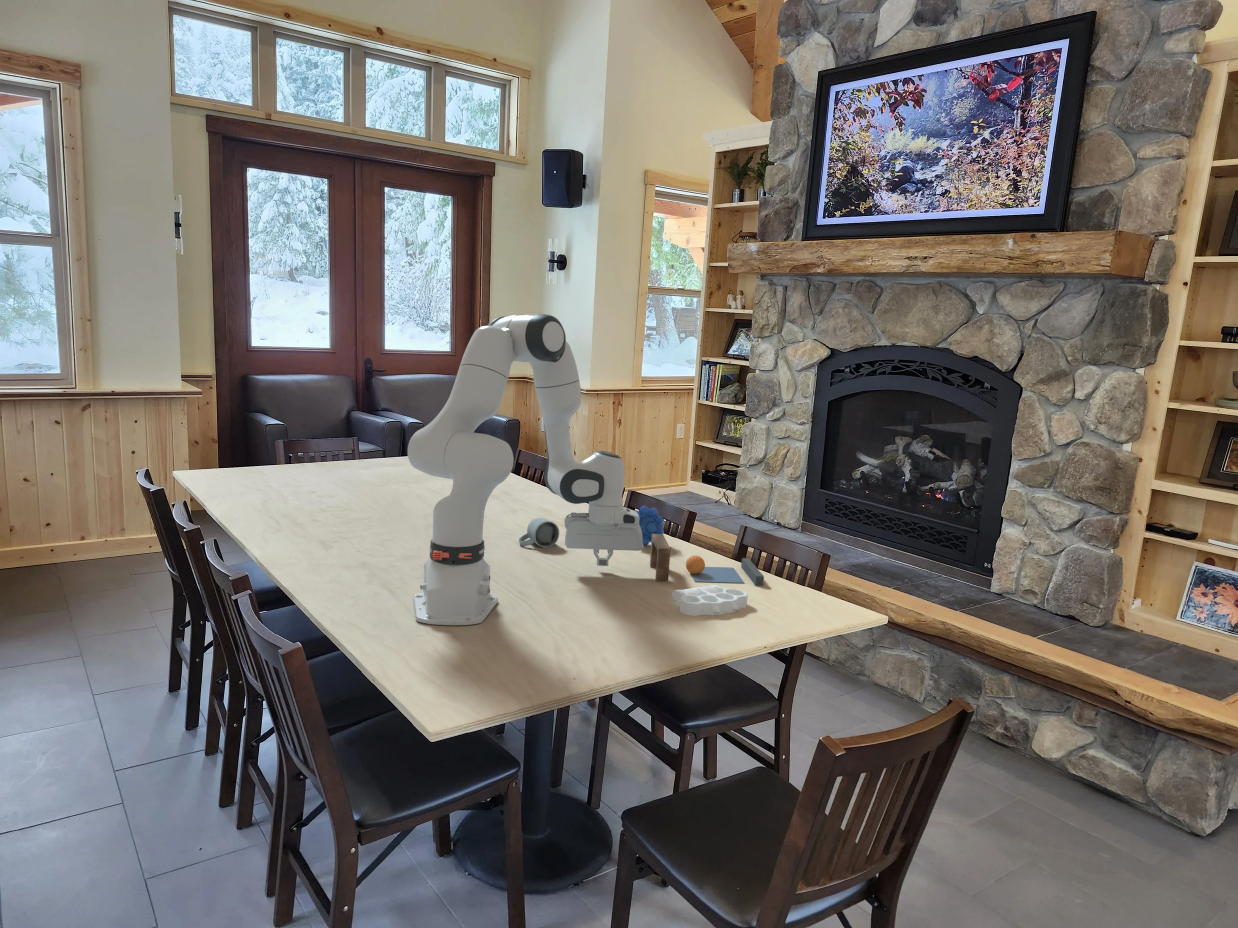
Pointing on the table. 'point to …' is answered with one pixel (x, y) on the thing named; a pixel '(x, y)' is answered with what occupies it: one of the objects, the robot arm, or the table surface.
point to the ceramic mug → (540, 533)
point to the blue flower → (649, 523)
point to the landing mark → (718, 575)
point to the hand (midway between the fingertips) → (602, 565)
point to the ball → (695, 565)
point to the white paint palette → (710, 600)
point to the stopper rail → (752, 572)
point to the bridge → (660, 557)
